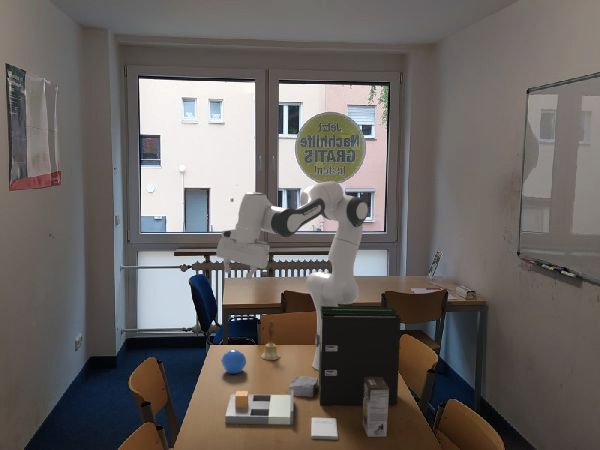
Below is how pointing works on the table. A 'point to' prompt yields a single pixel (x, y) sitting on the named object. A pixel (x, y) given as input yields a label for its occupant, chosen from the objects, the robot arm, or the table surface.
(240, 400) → the block
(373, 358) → the binder
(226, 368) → the blue ball
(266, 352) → the hand bell
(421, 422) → the table surface
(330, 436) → the external hard drive
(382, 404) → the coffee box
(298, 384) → the stone block
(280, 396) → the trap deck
